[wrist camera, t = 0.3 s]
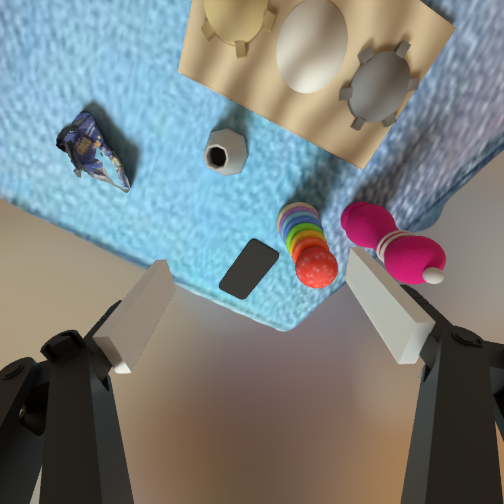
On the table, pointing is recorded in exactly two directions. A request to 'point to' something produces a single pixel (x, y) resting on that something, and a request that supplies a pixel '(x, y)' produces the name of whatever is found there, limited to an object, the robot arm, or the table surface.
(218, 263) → the table surface
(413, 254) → the pepper mill
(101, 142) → the snack package
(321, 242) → the stacking toy
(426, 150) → the table surface
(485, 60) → the table surface
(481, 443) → the robot arm
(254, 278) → the phone
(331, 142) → the gear board
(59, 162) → the table surface
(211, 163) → the flask
